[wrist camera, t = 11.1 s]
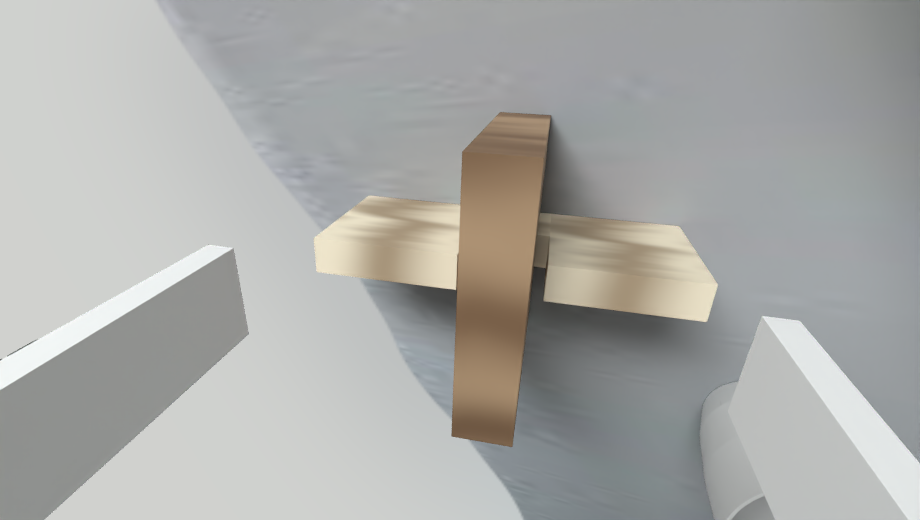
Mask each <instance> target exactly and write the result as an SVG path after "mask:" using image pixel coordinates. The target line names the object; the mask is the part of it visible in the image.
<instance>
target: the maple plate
mask: <svg viewBox="0 0 920 520" xmlns="http://www.w3.org/2000/svg"><path fill="white" fill-rule="evenodd" d="M459 229H460V205H459V204H449V203H438V202H428V201H418V200H408V199H398V198H388V197H378V196H368V197H367V198H365V199H364V200H363V201H361V202H360V203H359V204H357V205H356V206H355V207H353V208H352V209H351V210H350V211H348V212H347V213H346V214H344V215H343V216H342V217H340V218H339V219H338V220H336V221H335V222H334V223H333V224H331V225H330V226H329V227H327V228H326V229H325V230H323V231H322V232H321V233H320V234H318V235H317V236H316V237H314V247H315V256H316V268H317V272H321V273H329V274H336V275H344V276H352V277H360V278H368V279H375V280H383V281H391V282H399V283H406V284H414V285H422V286H430V287H438V288H445V289H453V290H456V289H457V281H458V255H459ZM534 267H541V268H546V272H545V285H544V299H543V301H546V302H554V303H562V304H570V305H578V306H585V307H593V308H601V309H609V310H617V311H624V312H632V313H640V314H648V315H655V316H663V317H671V318H679V319H687V320H694V321H702V322H707V320H708V317H709V313H710V310H711V307H712V303H713V300H714V297H715V293H716V290H717V287H718V284H717V283H716V281H715V280H714V278H713V277H712V275H711V274H710V272H709V271H708V269H707V268H706V266H705V265H704V263H703V262H702V260H701V258H700V257H699V255H698V254H697V252H696V251H695V249H694V248H693V246H692V245H691V243H690V242H689V240H688V239H687V237H686V236H685V234H684V233H683V231H682V230H681V228H680V227H679V226H671V225H661V224H651V223H640V222H630V221H620V220H610V219H600V218H590V217H580V216H570V215H560V214H550V213H540V215H539V222H538V231H537V240H536V249H535V258H534Z"/></svg>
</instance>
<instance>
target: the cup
mask: <svg viewBox="0 0 920 520" xmlns="http://www.w3.org/2000/svg"><path fill="white" fill-rule="evenodd" d="M737 384H738V382H732V383H728V384H725V385H723V386H720V387H719V388H717V389H715V390H714V391H713V392H711V393H710V394H709V395H708V397H707V398H706V399H705V401H704V403H703V407H702V415H701V426H700V446H701V454H702V463H703V471H704V480H705V485H706V489H707V493H708V497H709V501H710V505H711V509H712V513H713V517H714V520H775V518H774V516H773V514H772V512H771V509H770V507H769V505H768V502H767V500H766V498H765V496H764V493H763V491H762V489H761V486H760V484H759V482H758V480H757V477H756V475H755V473H754V470H753V468H752V466H751V464H750V461H749V459H748V457H747V455H746V452H745V450H744V448H743V445H742V443H741V441H740V439H739V436H738V434H737V432H736V429H735V427H734V425H733V423H732V420H731V418H730V416H729V413H728V409H729V406H730V403H731V401H732V398H733V395H734V392H735V389H736V387H737Z"/></svg>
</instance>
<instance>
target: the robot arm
mask: <svg viewBox="0 0 920 520" xmlns="http://www.w3.org/2000/svg"><path fill="white" fill-rule="evenodd" d="M248 334H249V332H248V327H247V321H246V316H245V311H244V304H243V299H242V293H241V288H240V282H239V276H238V271H237V265H236V260H235V254H234V249H233V248H229V247H220V246H213V245H207V246H205V247H204V248H202V249H200V250H198V251H196V252H194V253H193V254H191V255H189V256H187V257H185V258H184V259H182V260H180V261H178V262H177V263H175V264H173V265H171V266H169V267H168V268H166V269H164V270H162V271H160V272H159V273H157V274H155V275H153V276H151V277H150V278H148V279H146V280H144V281H142V282H141V283H139V284H137V285H135V286H133V287H132V288H130V289H128V290H126V291H124V292H123V293H121V294H119V295H117V296H115V297H114V298H112V299H110V300H108V301H106V302H105V303H103V304H101V305H99V306H97V307H96V308H94V309H92V310H91V311H89V312H87V313H85V314H83V315H81V316H79V317H78V318H76V319H74V320H72V321H71V322H69V323H67V324H65V325H63V326H62V327H60V328H58V329H56V330H55V331H53V332H51V333H49V334H47V335H46V336H44V337H42V338H40V339H37V340H35V341H33V342H31V343H29V344H27V345H26V346H24V347H22V348H20V349H18V350H17V351H15V352H13V353H11V354H10V355H8V356H7V357H6V358H4V359H0V520H44V519H45V518H46V517H48V516H49V515H50V514H51V513H52V512H53V511H54V510H55V509H56V508H57V507H59V506H60V505H61V504H62V503H63V502H64V501H65V500H66V499H67V498H68V497H70V496H71V495H72V494H73V493H74V492H75V491H76V490H77V489H78V488H79V487H80V486H82V485H83V484H84V483H85V482H86V481H87V480H88V479H89V478H91V477H92V476H93V475H94V474H95V473H96V472H97V471H98V470H99V469H101V468H102V467H103V466H104V465H105V464H106V463H107V462H108V461H109V460H110V459H111V458H113V457H114V456H115V455H116V454H117V453H118V452H119V451H120V450H121V449H122V448H124V447H125V446H126V445H127V444H128V443H129V442H130V441H131V440H132V439H134V438H135V437H136V436H137V435H138V434H139V433H140V432H141V431H142V430H143V429H145V427H147V426H148V425H149V424H150V423H151V422H152V421H153V420H155V418H157V417H158V416H159V415H160V414H161V413H162V412H163V411H164V410H165V409H167V408H168V407H169V406H170V405H171V404H172V403H173V402H174V401H175V400H176V399H178V398H179V397H180V396H181V395H182V394H183V393H184V392H185V391H186V390H188V389H189V388H190V387H191V386H192V385H193V384H194V383H195V382H196V381H198V380H199V379H200V378H201V377H202V376H203V375H204V374H205V373H206V372H207V371H208V370H210V369H211V368H212V367H213V366H214V365H215V364H216V363H217V362H218V361H220V360H221V359H222V357H224V356H225V355H226V354H227V353H228V352H229V351H230V350H232V349H233V348H234V347H235V346H236V345H237V344H238V343H239V342H240V341H242V340H243V339H244V338H245V337H246V336H247V335H248ZM728 413H729V416H730V418H731V420H732V423H733V425H734V427H735V429H736V432H737V434H738V436H739V439H740V441H741V443H742V445H743V448H744V450H745V452H746V455H747V457H748V459H749V461H750V464H751V466H752V468H753V470H754V473H755V475H756V477H757V480H758V482H759V484H760V486H761V489H762V491H763V493H764V496H765V498H766V500H767V502H768V505H769V507H770V509H771V512H772V514H773V516H774V518H775V520H920V463H919V462H918V461H917V460H916V458H915V457H914V456H913V455H912V454H911V452H910V451H909V450H908V449H907V448H906V447H905V445H904V444H903V443H902V442H901V441H900V439H899V438H898V437H897V436H896V435H895V434H894V432H893V431H892V430H891V429H890V428H889V426H888V425H887V424H886V423H885V422H884V420H883V419H882V418H881V417H880V416H879V415H878V413H877V412H876V411H875V410H874V409H873V407H872V406H871V405H870V404H869V403H868V401H867V400H866V399H865V398H864V397H863V396H862V394H861V393H860V392H859V391H858V390H857V388H856V387H855V386H854V385H853V384H852V382H851V381H850V380H849V379H848V378H847V377H846V375H845V374H844V373H843V372H842V371H841V369H840V368H839V367H838V366H837V365H836V363H835V362H834V361H833V360H832V359H831V358H830V356H829V355H828V354H827V353H826V352H825V350H824V349H823V348H822V347H821V346H820V344H819V343H818V342H817V341H816V340H815V339H814V337H813V336H812V335H811V334H810V333H809V331H808V330H807V329H806V328H805V327H804V325H803V324H802V323H801V322H800V321H797V320H789V319H781V318H773V317H766V316H762V317H761V320H760V323H759V325H758V328H757V331H756V334H755V337H754V339H753V342H752V345H751V348H750V351H749V353H748V356H747V359H746V362H745V364H744V367H743V370H742V373H741V376H740V378H739V381H738V384H737V387H736V389H735V392H734V395H733V398H732V401H731V403H730V406H729V409H728Z"/></svg>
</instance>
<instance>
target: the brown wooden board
mask: <svg viewBox="0 0 920 520" xmlns="http://www.w3.org/2000/svg"><path fill="white" fill-rule="evenodd" d="M550 119H551V115H536V114H520V113H504V112H500V113H499V114H498V115H497V116H496V117H495V118H494V119H493V120H492V121H491V122H490V123H489V124H488V125H487V127H486V128H485V129H484V130H483V131H482V132H481V133H480V134H479V135H478V136H477V137H476V138H475V139H474V140H473V141H472V142H471V143H470V144H469V145H468V146H467V147H466V148H465V149H464V151H463V152H462V176H461V202H460V229H459V255H458V281H457V307H456V333H455V359H454V385H453V411H452V436H453V437H459V438H464V439H469V440H475V441H481V442H486V443H492V444H498V445H503V446H509V447H512V445H513V437H514V429H515V420H516V412H517V404H518V396H519V388H520V380H521V372H522V364H523V356H524V348H525V340H526V332H527V324H528V315H529V306H530V297H531V289H532V280H533V271H534V258H535V249H536V240H537V231H538V222H539V215H540V207H541V199H542V191H543V182H544V173H545V164H546V155H547V146H548V137H549V128H550Z"/></svg>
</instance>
